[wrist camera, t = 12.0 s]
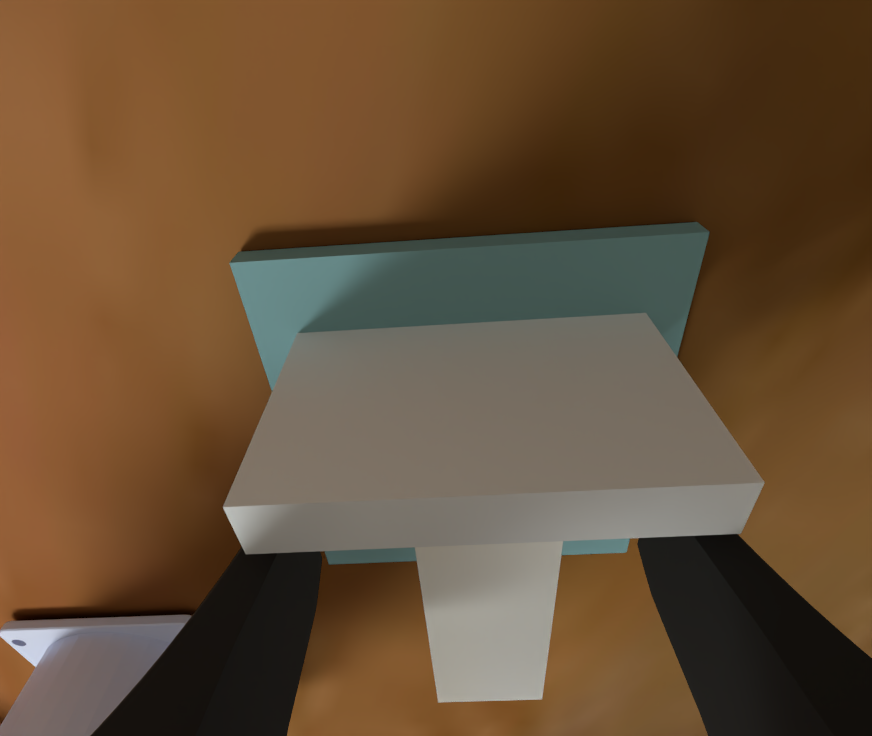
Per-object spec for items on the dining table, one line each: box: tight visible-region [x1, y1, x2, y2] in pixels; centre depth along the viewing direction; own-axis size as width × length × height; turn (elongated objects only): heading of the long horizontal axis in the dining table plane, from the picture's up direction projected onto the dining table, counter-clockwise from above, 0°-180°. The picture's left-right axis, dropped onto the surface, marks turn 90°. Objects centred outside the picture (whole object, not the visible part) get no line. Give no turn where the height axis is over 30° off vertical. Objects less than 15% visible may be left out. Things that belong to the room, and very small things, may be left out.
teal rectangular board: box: [230, 222, 710, 564], centre depth 14 cm, size 11×10×1 cm
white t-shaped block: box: [223, 313, 765, 702], centre depth 11 cm, size 7×8×5 cm
